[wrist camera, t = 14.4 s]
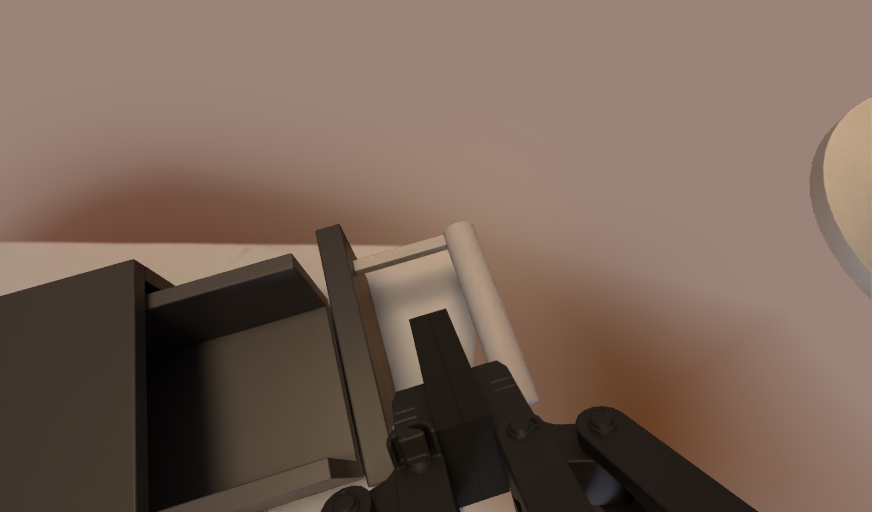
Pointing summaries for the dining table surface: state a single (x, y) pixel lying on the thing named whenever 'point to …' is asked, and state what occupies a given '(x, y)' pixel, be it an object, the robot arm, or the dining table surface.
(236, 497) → the open sliding drawer
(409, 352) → the dining table surface
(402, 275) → the dining table surface
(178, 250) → the dining table surface
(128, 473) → the grey drawer box
